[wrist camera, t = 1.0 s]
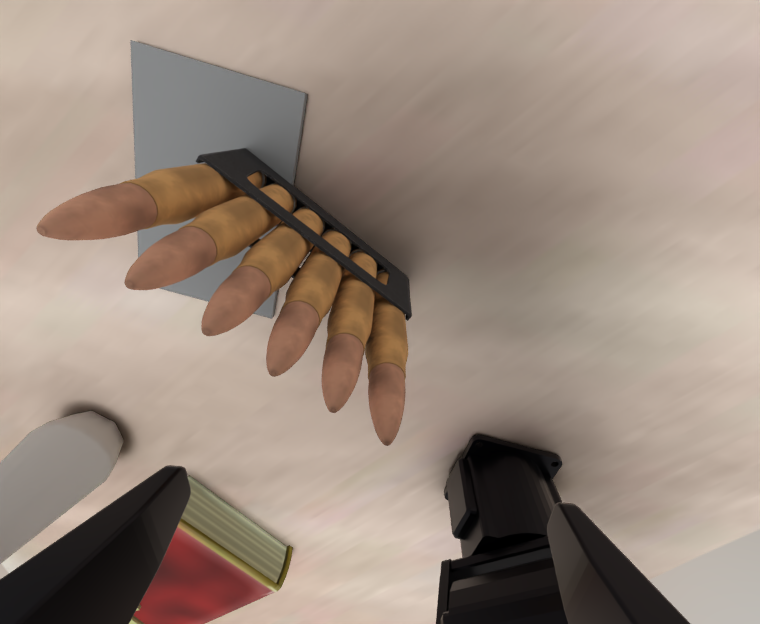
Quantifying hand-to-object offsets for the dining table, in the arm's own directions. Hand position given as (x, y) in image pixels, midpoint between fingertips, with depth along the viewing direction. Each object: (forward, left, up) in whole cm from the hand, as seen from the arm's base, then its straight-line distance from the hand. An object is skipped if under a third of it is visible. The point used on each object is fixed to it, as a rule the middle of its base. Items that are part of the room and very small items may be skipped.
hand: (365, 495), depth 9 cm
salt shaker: (+18, +17, -13) cm, 29 cm away
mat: (+10, -3, -13) cm, 17 cm away
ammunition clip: (+4, -3, -13) cm, 14 cm away
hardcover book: (+12, +31, -14) cm, 37 cm away
